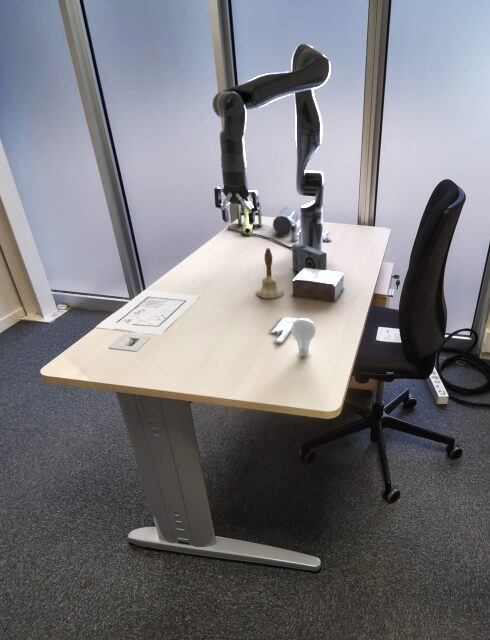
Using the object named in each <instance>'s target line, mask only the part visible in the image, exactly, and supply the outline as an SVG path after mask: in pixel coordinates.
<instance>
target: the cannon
mask: <svg viewBox="0 0 490 640" xmlns="http://www.w3.org/2000/svg"><path fill="white" fill-rule="evenodd" d="M259 205H260V210H258V211H256V212H254V215H255V216H257V220H258V226H259V227H261V226H262V221H263V220H262V215H263V214H262V205H261V201H259ZM248 213H249V212H248V210H247V209H246V208H245V207H244V211H242V204H236V215H237V216H236V217H237V224H238V226H242V231H243V233H242V234H244V235H246V236H250V235H251V233H253V227H254V226H253V225H254V223H253V224H252V225H249V218H248ZM242 216H243V218H242ZM242 219H244V222H243V220H242ZM242 223H243V225H242Z"/></svg>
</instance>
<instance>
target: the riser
mask: <svg viewBox="0 0 490 640" xmlns="http://www.w3.org/2000/svg"><path fill="white" fill-rule="evenodd" d="M344 277H345V273H343V272H340V271H333V270H327V269H326V270H318V269H310V268H303V270H302V271H301V272H298V274H296V276H294V278H293V279H292V297H294V298H302V299H309V300H310V299H311V300H316V301H325V302H330V303H335V302H336V301H337V299H338V297H339V296H340V294H341V292H342V291H343V289H344Z"/></svg>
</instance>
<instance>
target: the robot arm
mask: <svg viewBox="0 0 490 640" xmlns="http://www.w3.org/2000/svg"><path fill="white" fill-rule="evenodd" d="M331 70H332V69H331V62H330V61H329V59H328V57H327V56H325V55H324V54H323V53H322V52H320V51H319V50H317V49H316V48H314V47H313V46H311V45H309V44H307V43H300V44H299V45H297V46H296V47H295V49H294V52H293V54H292V58H291V71H284V72H271V73H265V74H262V75H258V76H256V77H254V78H252V79H250V80H247V81H246V82H244V83H242V84H238V85H235V86H232V87H228V88H225V89H223V90H220V91H218V92H217V93H216V94H214V97H213V99H212V102H211V103H212V109H213V112H214V113H215V115H216V116H217V117H219V119H222V120H223V129H222V130H221V131H220V133H219V144H220V155H221V156H220V163H221V164H220V168H221V175H222V184H223V187H220V186H217V187H215V188H214V189H213V192H214V194H213V195H214V207H215V208H216V209H217V208H218V209H220V211H221V217H222V220H223V223H229V222H230V215H229V209H228V207H229V206H230V205H235V204H236V205H237V204H240V205H242V206H243V207H244V209H245V208H246V209H247V210H248V212H249V213H248V218H249V225H252V224H253V225H254V223H255V221H256V220H255V219H256V215H254V212H258V210H260V205H259V202H260V197H259V191H258V190H257V189H255V190H250V189H249V180H248V168H247V167H248V166H247V157H246V150H245V140H244V139H245V138H244V137H245V130H246V123H247V111H250V110H257V109H259V108H262V107H264V106H267V105H268V104H269V103H273V102H274V101H277V100H279V99H281V98H284V97H287V96H292V95H294V105H295V108H294V110H295V143H296V174H295V175H296V176H295V186H296V187H295V188H296V192H297V195H298V196H301V197H312V198H313V197H315V198H314V199H313V200H312V201H310V202H308V203H305V204H302V205H301V206H300V209H299V215H300V218H299V219H300V221H299V222H300V228H301V231H300V232H299V231H298V232H299V236H298V244H299V243H300V244H302V245H305V246H308V247H311V248H314V249H316V250H319V251H322V252H323V240H322V235H323V234H324V233H323V231H324V230H323V228H324V227H323V225H324V224H323V223H324V222H323V221H324V208H323V207H324V191H325V190H324V189H325V177H324V173H323V172H322V171H319V170H317V171H315V170H306V169H307V166H308V164H309V163H310V161H311V159H312V158H313V157H314V155H315V154H316V153H317V151H318V150H319V149H320V146H321V144H322V139H323V123H322V122H323V121H322V117H321V113H320V110H319V107H318V104H317V101H316V98H315V93H314V90H315V89H318V88H320V87H322V86H324V85H325V84H326V83H327V81H328V79H329V78H330V75H331ZM223 194H224V196H225V198H224V200H223V199H222V198H223V197H222V195H223ZM249 196H250V198H251V199H252V202H251V201H250V199H249V198H248V197H249ZM222 201H223V202H222ZM227 230H230V231H234V232H237V233H242V234H244V233H243V230H239V229H234V228H232V227H231V228H230V227H227ZM250 235H251V236H257V237H262V238H264V239H268V240H271V241H273V242H275V243H277V244H279V245H282V246H284V247H285V248H287V249H292V246H290V245H288V244H285V243H284V242H281V241H279V240H277V239H275V238H272V237H269V236H266V235H263V234H258V233H253V232H252V233H251V234H250Z"/></svg>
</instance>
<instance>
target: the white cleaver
mask: <svg viewBox="0 0 490 640" xmlns="http://www.w3.org/2000/svg"><path fill="white" fill-rule="evenodd" d="M297 319H298V318H295V317H289V316H286V317H283V318H281V320H280V321H279V322H278V323H277V325H275V327H274V328H273V330H272V331H271V332H270V334H277V335H279V336H278V337H277V339H275V343H277V344H283V342H284V341H285V339H286V338H287V336H289V334H290V332H291V328H292V325H293V323H294V322H295V321H296V320H297Z"/></svg>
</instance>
